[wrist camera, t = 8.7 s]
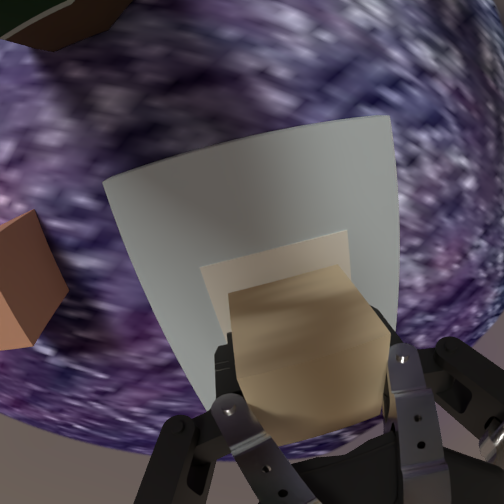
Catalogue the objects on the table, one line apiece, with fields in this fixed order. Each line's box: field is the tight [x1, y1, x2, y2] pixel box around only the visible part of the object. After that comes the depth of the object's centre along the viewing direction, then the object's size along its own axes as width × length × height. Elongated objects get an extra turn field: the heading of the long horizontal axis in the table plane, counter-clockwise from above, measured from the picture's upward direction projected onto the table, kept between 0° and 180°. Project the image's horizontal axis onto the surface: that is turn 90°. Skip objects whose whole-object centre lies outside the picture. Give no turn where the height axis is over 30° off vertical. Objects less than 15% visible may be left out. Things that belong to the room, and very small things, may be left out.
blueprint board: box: [102, 115, 400, 411], centre depth 16 cm, size 13×17×1 cm
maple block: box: [228, 264, 391, 446], centre depth 12 cm, size 5×5×5 cm
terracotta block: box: [0, 209, 69, 351], centre depth 11 cm, size 5×5×5 cm
